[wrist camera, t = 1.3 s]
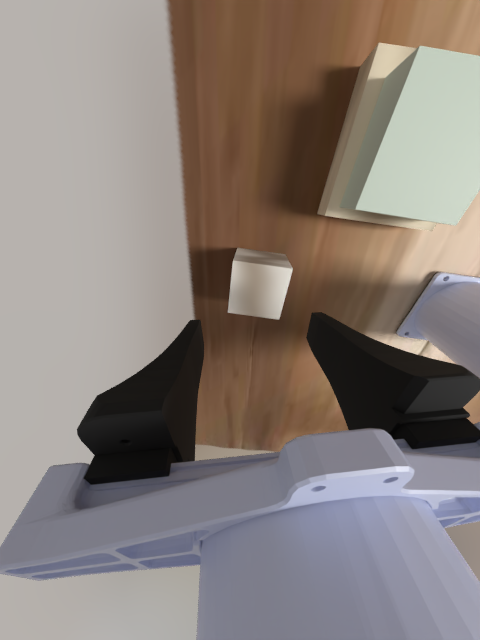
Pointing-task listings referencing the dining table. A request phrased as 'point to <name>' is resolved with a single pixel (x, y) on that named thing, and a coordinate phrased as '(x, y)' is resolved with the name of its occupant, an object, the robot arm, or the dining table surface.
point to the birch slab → (353, 136)
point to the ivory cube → (259, 283)
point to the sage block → (422, 141)
